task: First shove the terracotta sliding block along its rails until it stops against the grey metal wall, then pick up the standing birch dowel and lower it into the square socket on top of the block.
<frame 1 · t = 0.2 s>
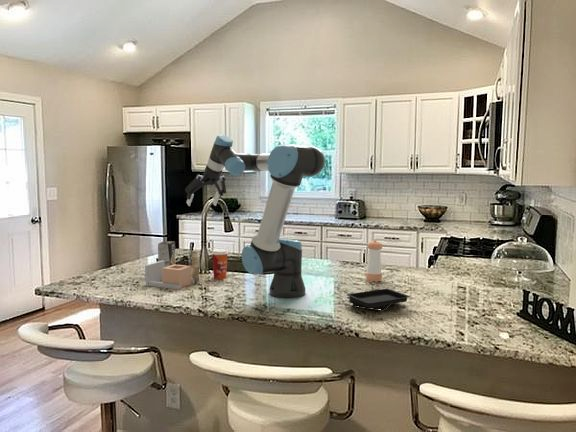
hand: (201, 204, 222), 35 cm above the worktop, tool tilted 35°, fingers open, 13 cm apart
tray: (378, 306, 182), on the worktop
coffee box: (167, 275, 231), on the worktop
dowel: (195, 281, 215), point 1 cm above the worktop, touching mat with wall
block: (177, 276, 206), point 5 cm above the worktop, slide at 0.0 cm
paper cup: (220, 280, 222), on the worktop
mat with wall: (176, 284, 212), on the worktop
pepper shaker: (373, 280, 223), on the worktop
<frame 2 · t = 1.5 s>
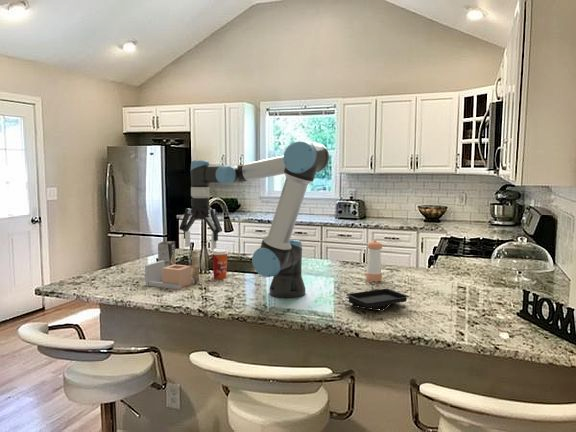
hand: (200, 247, 201), 19 cm above the worktop, tool pointing down, fingers open, 12 cm apart
nothing on the worktop moved.
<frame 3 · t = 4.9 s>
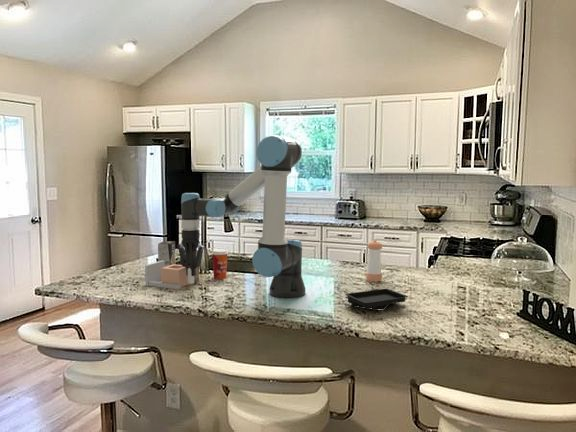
hand: (191, 283, 204), 3 cm above the worktop, tool pointing down, fingers closed
block: (176, 275, 207), point 5 cm above the worktop, slide at 0.6 cm, touching gripper
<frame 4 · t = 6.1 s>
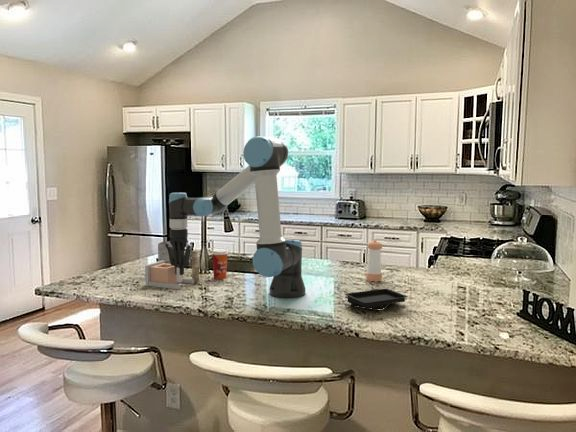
hand: (179, 281, 206), 3 cm above the worktop, tool pointing down, fingers closed
block: (165, 274, 209), point 5 cm above the worktop, slide at 6.2 cm, touching gripper
everything else where it was.
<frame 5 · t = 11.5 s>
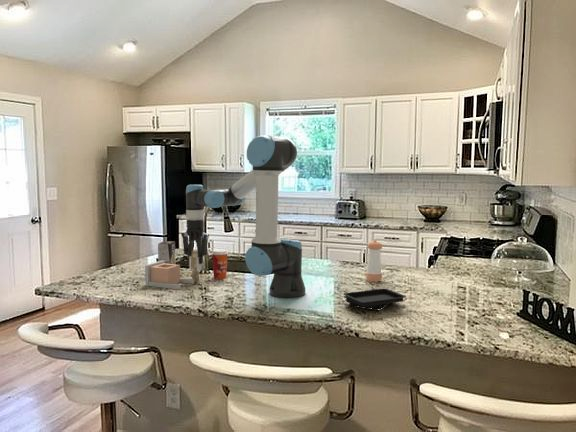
hand: (195, 270, 214), 6 cm above the worktop, tool pointing down, fingers closed on dowel, 3 cm apart
dowel: (195, 281, 215), point 1 cm above the worktop, touching gripper
block: (165, 274, 208), point 5 cm above the worktop, slide at 6.0 cm
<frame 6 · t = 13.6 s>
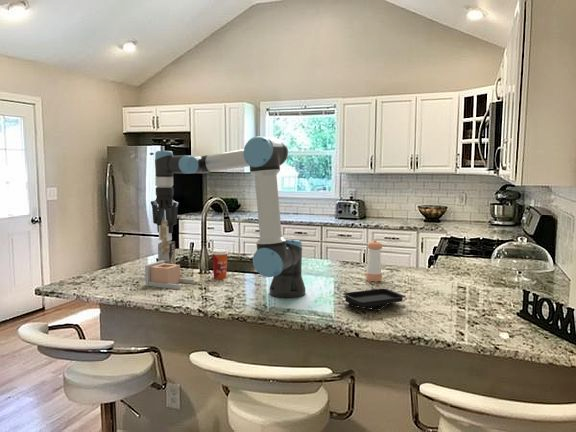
hand: (165, 240, 207), 21 cm above the worktop, tool pointing down, fingers closed on dowel, 3 cm apart
dowel: (165, 252, 208), point 15 cm above the worktop, touching gripper
when the fingers open (11 cm above the worktop, at t = 16.0 s): dowel stays where it is, resting on block.
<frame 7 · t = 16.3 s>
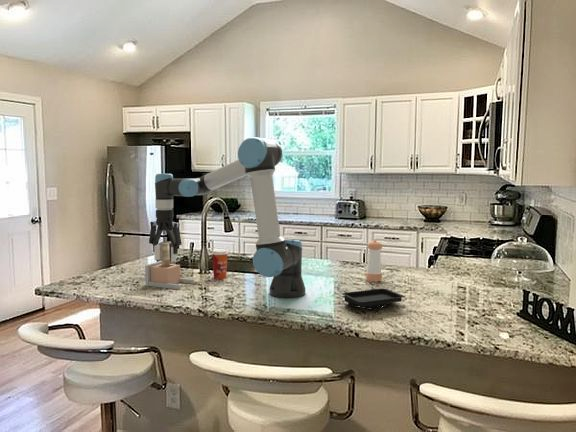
hand: (165, 260, 208), 12 cm above the worktop, tool pointing down, fingers open, 8 cm apart
dowel: (165, 274, 209), point 5 cm above the worktop, touching block
block: (165, 274, 208), point 5 cm above the worktop, slide at 6.0 cm, touching dowel
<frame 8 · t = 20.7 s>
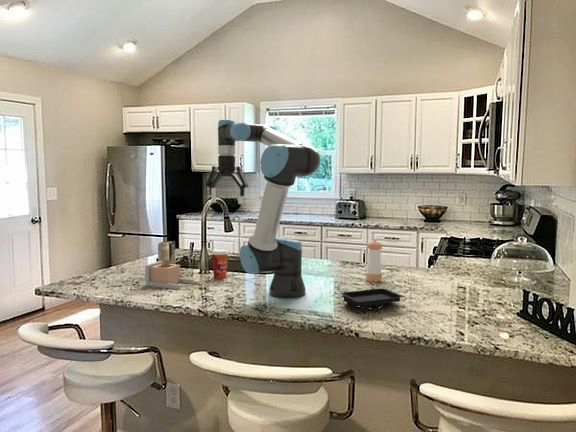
hand: (226, 202, 212), 37 cm above the worktop, tool pointing down, fingers open, 13 cm apart
at the end: dowel 0.1 cm off-centre on the block, point 4.0 cm above the block's base; dowel tilted 1°; block slide at 6.0 cm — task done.
